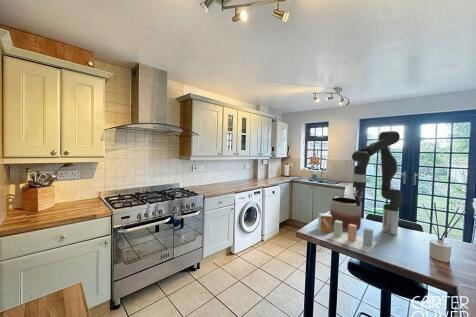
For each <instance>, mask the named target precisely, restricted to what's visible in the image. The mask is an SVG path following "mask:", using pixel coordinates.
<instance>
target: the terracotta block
mask: <svg viewBox="0 0 476 317" xmlns="http://www.w3.org/2000/svg"><path fill="white" fill-rule="evenodd" d="M347 233H348V240H349V241H352V242H355V241H356V236H358V235H357V233H358V228H357V225H354V224H349V225H348V228H347Z"/></svg>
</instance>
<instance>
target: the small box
mask: <svg viewBox="0 0 476 317" xmlns="http://www.w3.org/2000/svg"><path fill="white" fill-rule="evenodd" d="M332 218H333V216H331V215H330V213H323V212H321V213H319V212H318V220H317V223H318V224H317V229H318V232H320V233H332V232H333V224H332Z"/></svg>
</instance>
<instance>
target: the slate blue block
mask: <svg viewBox="0 0 476 317" xmlns="http://www.w3.org/2000/svg"><path fill="white" fill-rule="evenodd" d="M373 234H374V229H372V228H368V227H365V228H363V235H362V236H363V237H362V238H363V245H365V246H368V247H371V246H372V241H373V237H374V235H373Z"/></svg>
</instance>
